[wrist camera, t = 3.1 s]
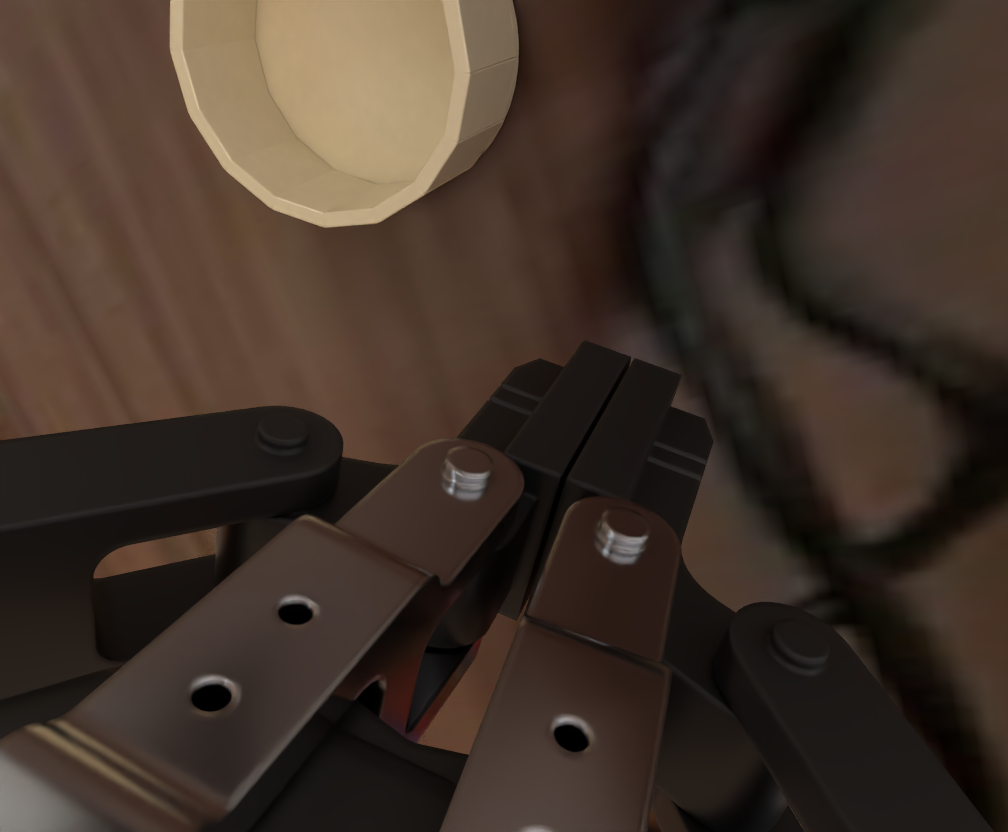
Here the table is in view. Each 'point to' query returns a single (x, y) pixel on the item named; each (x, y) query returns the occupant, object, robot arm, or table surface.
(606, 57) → the table surface
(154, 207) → the table surface
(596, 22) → the table surface
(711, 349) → the table surface
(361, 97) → the beige round bowl
